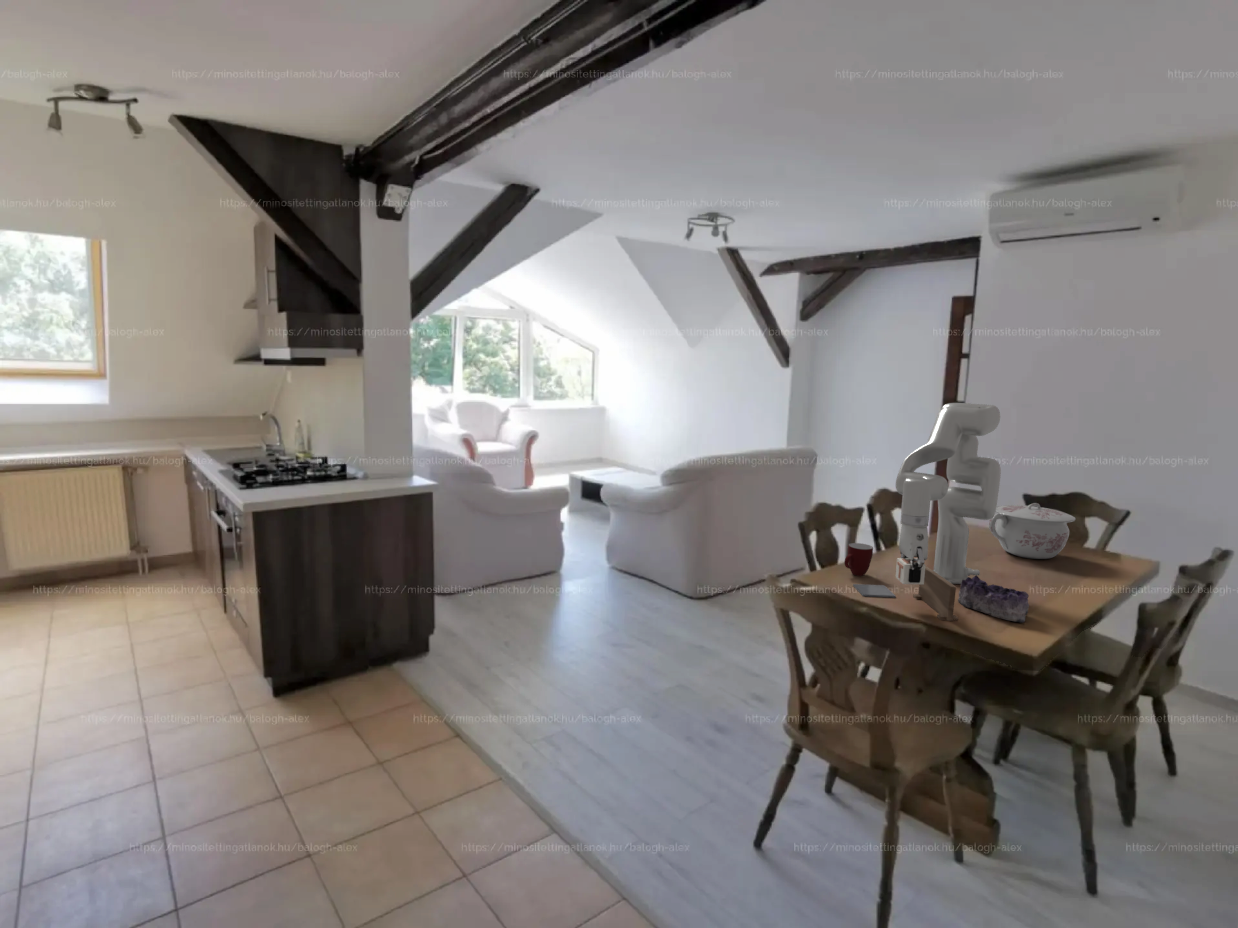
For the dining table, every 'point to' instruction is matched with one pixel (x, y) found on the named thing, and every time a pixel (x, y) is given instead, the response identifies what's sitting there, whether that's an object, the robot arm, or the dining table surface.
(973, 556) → the dining table surface
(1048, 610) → the dining table surface
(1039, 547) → the chamber pot
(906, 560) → the cube
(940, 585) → the screen
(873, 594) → the tile
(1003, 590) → the geode
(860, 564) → the mug
